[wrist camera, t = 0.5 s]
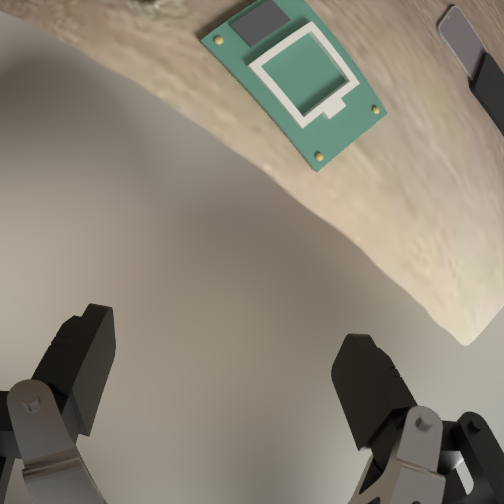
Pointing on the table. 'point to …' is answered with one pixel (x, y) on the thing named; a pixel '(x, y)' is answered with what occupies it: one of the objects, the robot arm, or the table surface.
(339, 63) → the header board
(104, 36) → the table surface
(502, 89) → the smart home device
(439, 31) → the smartphone
